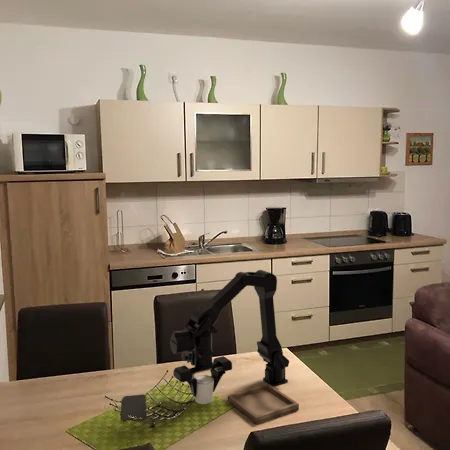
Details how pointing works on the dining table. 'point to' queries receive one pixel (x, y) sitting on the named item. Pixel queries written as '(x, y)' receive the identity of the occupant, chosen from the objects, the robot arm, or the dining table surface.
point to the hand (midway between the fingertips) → (203, 394)
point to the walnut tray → (262, 403)
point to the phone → (133, 407)
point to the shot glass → (204, 389)
